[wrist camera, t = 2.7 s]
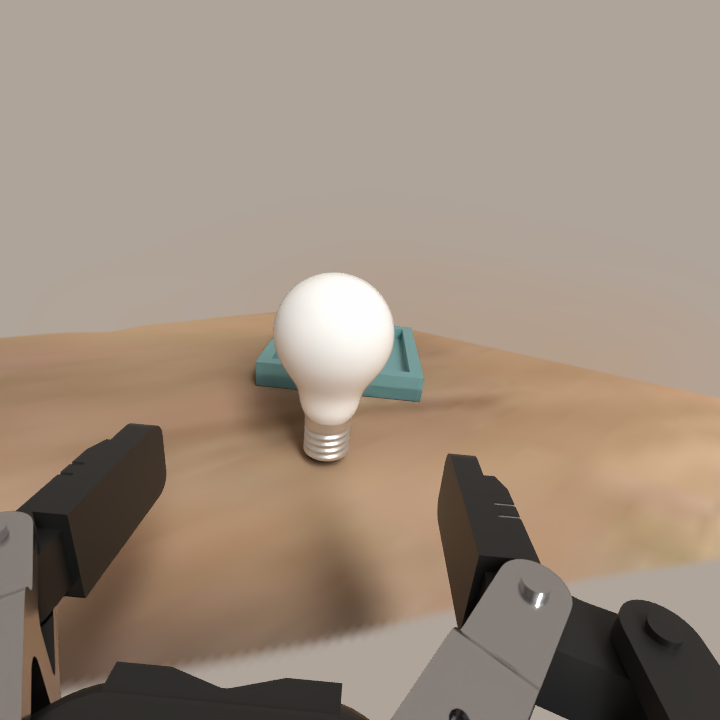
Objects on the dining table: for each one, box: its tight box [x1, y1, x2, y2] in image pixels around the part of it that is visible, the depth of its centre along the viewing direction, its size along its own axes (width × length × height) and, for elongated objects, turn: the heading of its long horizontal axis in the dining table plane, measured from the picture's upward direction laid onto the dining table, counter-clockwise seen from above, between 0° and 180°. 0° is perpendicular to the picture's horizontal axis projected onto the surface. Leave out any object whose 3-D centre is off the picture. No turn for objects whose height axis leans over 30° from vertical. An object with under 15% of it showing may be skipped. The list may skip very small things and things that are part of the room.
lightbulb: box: [273, 272, 395, 461], centre depth 23 cm, size 6×6×11 cm
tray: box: [256, 326, 424, 402], centre depth 39 cm, size 13×13×2 cm
